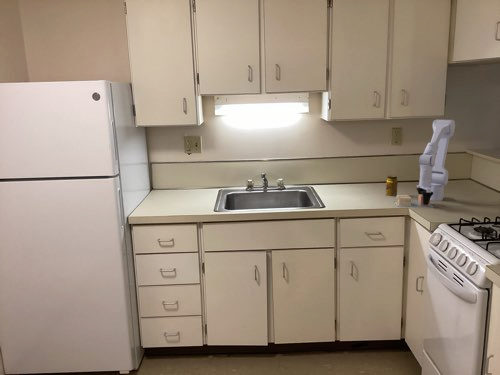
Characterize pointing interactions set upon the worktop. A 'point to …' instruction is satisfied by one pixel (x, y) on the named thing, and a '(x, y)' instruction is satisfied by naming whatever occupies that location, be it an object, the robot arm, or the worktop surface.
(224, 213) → the worktop surface
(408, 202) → the block
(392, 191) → the condiment
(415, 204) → the board
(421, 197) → the terracotta block
